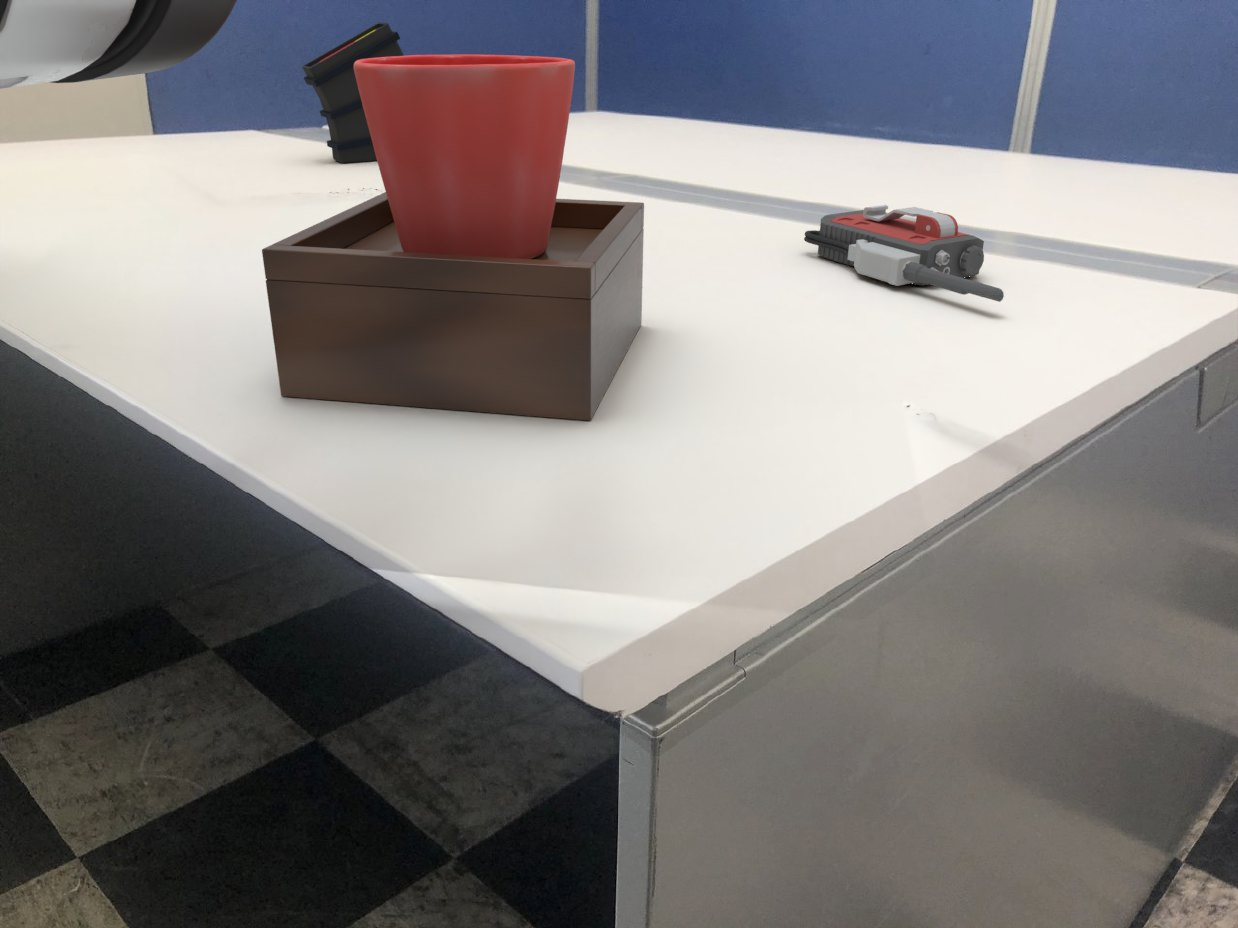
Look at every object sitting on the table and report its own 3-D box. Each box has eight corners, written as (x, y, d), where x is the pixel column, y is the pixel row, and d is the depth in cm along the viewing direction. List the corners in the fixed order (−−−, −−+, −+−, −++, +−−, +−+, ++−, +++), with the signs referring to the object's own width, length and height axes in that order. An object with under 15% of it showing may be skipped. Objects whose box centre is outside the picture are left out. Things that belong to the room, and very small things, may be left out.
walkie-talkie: (780, 256, 81) (987, 320, 65) (785, 199, 79) (998, 251, 64) (861, 243, 85) (1072, 301, 70) (867, 189, 83) (1085, 236, 68)
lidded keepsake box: (280, 396, 52) (260, 249, 49) (396, 309, 66) (387, 190, 63) (590, 421, 49) (591, 267, 46) (641, 324, 64) (644, 202, 61)
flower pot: (381, 231, 59) (365, 51, 55) (569, 229, 61) (568, 52, 56) (359, 277, 50) (339, 64, 46) (584, 274, 51) (583, 65, 47)
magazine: (451, 141, 126) (392, 22, 117) (362, 197, 122) (294, 78, 113) (438, 138, 128) (380, 20, 119) (351, 192, 125) (284, 76, 116)
